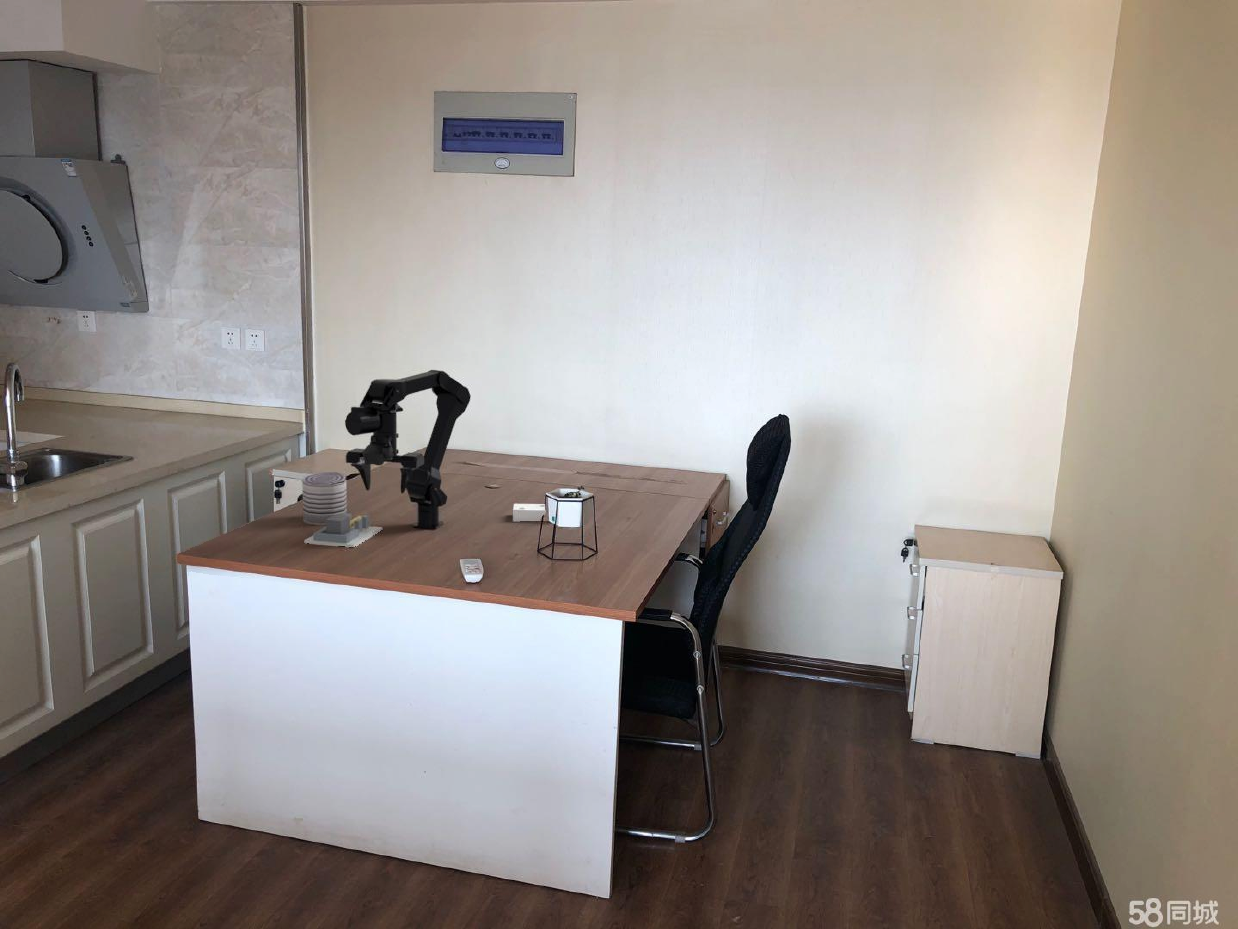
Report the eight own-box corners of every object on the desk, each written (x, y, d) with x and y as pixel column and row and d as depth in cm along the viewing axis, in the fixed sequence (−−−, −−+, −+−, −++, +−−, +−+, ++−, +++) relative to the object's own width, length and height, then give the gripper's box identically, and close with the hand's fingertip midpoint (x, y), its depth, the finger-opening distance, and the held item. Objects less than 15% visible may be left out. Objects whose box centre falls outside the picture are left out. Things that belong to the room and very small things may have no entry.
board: (335, 526, 258) (335, 512, 258) (382, 530, 256) (382, 516, 256) (304, 543, 242) (304, 528, 241) (353, 548, 240) (353, 533, 239)
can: (356, 519, 266) (355, 476, 263) (322, 527, 256) (321, 483, 254) (327, 512, 272) (326, 469, 269) (293, 520, 263) (292, 476, 260)
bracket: (559, 516, 279) (560, 490, 277) (560, 523, 272) (560, 496, 270) (513, 515, 278) (514, 489, 276) (512, 522, 271) (513, 495, 269)
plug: (354, 523, 259) (353, 505, 258) (368, 524, 258) (368, 506, 257) (326, 539, 243) (325, 519, 242) (341, 540, 243) (340, 521, 242)
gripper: (335, 433, 238) (336, 495, 241) (407, 438, 235) (408, 501, 238) (355, 426, 249) (355, 486, 252) (425, 431, 246) (424, 491, 249)
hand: (385, 491), depth 248 cm, fingers open, 9 cm apart
